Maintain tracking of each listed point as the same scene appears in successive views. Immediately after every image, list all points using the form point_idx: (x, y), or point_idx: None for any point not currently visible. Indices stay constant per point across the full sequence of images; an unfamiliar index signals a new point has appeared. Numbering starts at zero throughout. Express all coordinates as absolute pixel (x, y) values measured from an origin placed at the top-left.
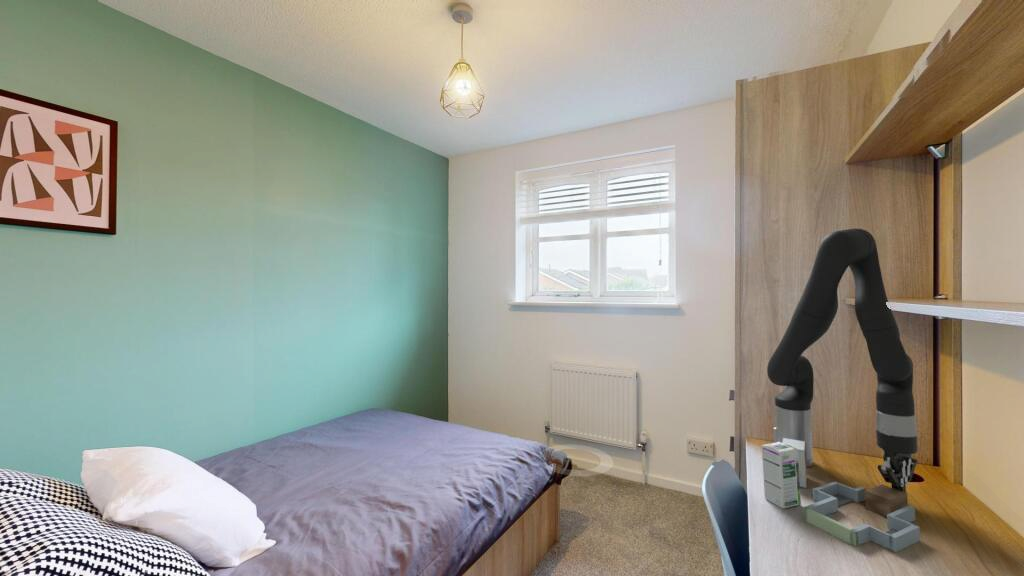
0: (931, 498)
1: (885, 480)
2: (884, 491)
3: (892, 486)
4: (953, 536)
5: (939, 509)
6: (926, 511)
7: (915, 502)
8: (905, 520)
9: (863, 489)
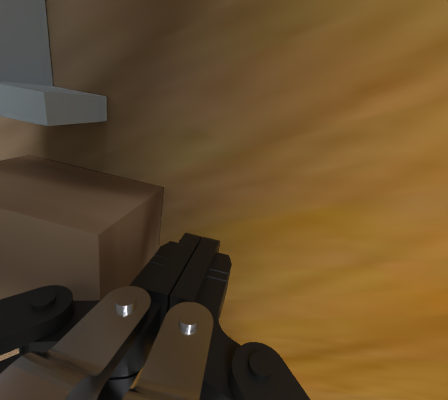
0: (408, 327)
1: (16, 300)
2: (3, 265)
3: (132, 285)
4: None
5: (288, 348)
6: (224, 317)
7: (289, 284)
8: None
9: (35, 123)
